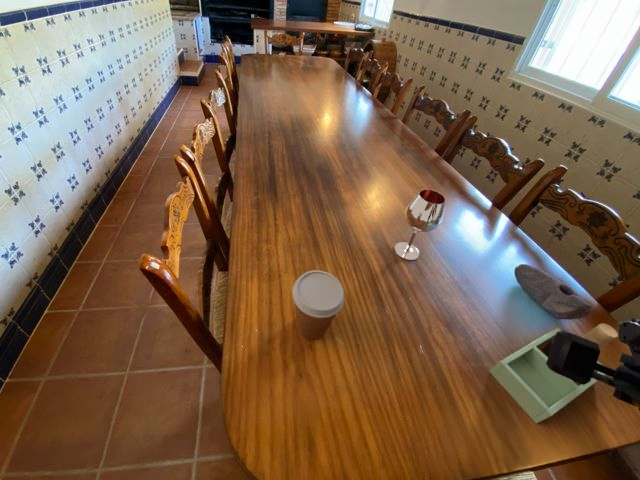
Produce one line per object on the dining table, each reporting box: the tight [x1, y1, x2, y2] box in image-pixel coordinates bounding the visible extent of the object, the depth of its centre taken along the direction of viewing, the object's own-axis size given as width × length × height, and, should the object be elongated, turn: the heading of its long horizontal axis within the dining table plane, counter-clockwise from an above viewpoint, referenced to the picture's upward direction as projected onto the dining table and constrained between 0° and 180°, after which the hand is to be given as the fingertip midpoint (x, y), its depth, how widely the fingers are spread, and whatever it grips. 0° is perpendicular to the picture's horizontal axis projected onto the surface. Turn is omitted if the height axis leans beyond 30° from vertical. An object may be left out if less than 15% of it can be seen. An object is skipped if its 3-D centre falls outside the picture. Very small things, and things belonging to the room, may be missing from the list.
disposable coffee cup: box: [291, 269, 346, 340], centre depth 56 cm, size 10×10×12 cm
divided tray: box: [488, 327, 607, 424], centre depth 54 cm, size 9×17×4 cm, turn 114°
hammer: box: [543, 322, 619, 382], centre depth 52 cm, size 6×4×13 cm
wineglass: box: [393, 188, 447, 261], centre depth 72 cm, size 8×8×18 cm
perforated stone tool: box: [514, 263, 594, 320], centre depth 67 cm, size 15×5×7 cm, turn 18°
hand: (592, 363), depth 49 cm, fingers open, 9 cm apart
